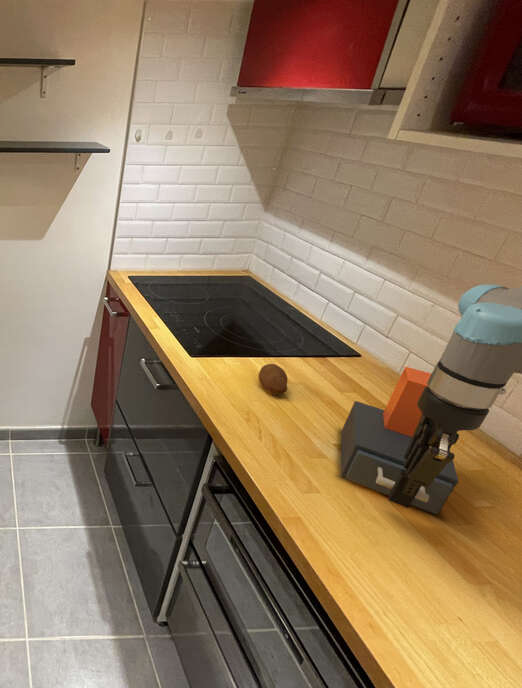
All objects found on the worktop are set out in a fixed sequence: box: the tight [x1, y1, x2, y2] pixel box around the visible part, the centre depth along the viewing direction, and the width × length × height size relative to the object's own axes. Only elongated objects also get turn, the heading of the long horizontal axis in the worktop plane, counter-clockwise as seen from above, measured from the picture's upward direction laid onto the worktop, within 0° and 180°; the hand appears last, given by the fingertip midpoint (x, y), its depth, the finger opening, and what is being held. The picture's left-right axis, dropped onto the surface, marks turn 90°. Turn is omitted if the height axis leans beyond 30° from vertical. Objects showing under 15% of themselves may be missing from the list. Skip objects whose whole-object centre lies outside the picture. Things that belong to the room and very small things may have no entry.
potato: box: [258, 363, 288, 395], centre depth 117 cm, size 7×10×6 cm
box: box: [383, 366, 432, 437], centre depth 90 cm, size 5×6×12 cm
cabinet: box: [340, 400, 460, 516], centre depth 92 cm, size 17×15×9 cm
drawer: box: [345, 450, 453, 515], centre depth 89 cm, size 20×14×7 cm
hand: (398, 501), depth 80 cm, fingers closed
